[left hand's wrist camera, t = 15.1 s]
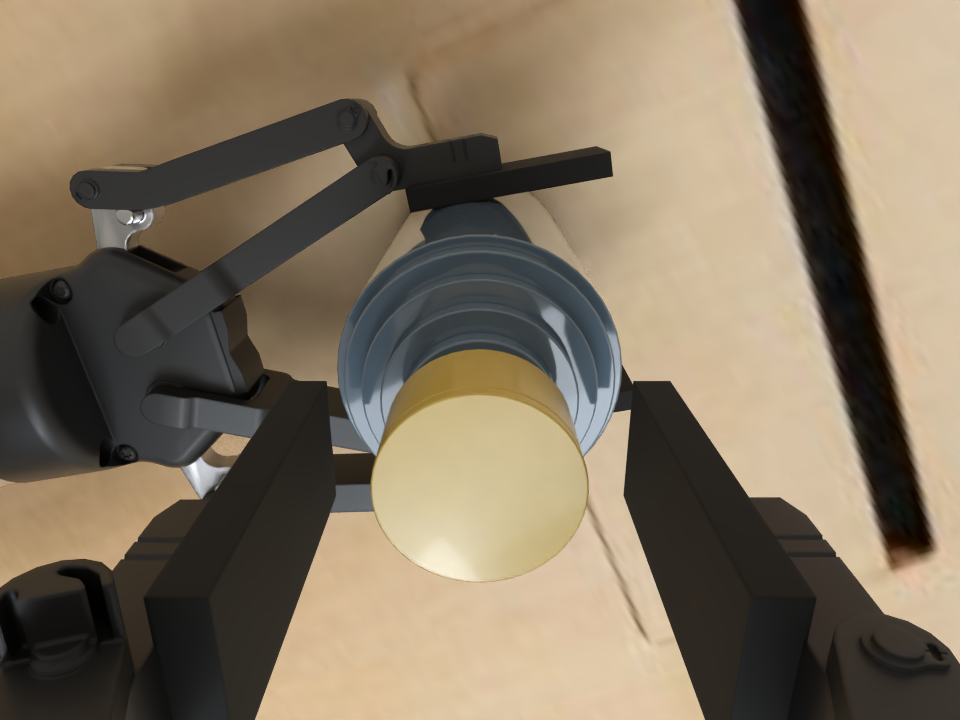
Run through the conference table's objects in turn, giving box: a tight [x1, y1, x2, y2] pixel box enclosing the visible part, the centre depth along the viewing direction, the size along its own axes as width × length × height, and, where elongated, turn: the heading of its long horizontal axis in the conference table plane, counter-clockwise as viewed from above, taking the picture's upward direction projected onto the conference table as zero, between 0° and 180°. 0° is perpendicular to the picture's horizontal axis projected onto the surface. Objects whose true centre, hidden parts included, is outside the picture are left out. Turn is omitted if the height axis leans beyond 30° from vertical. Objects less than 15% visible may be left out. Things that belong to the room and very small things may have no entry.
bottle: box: [337, 192, 622, 457], centre depth 22 cm, size 7×7×19 cm
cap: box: [371, 349, 589, 582], centre depth 14 cm, size 4×4×2 cm
